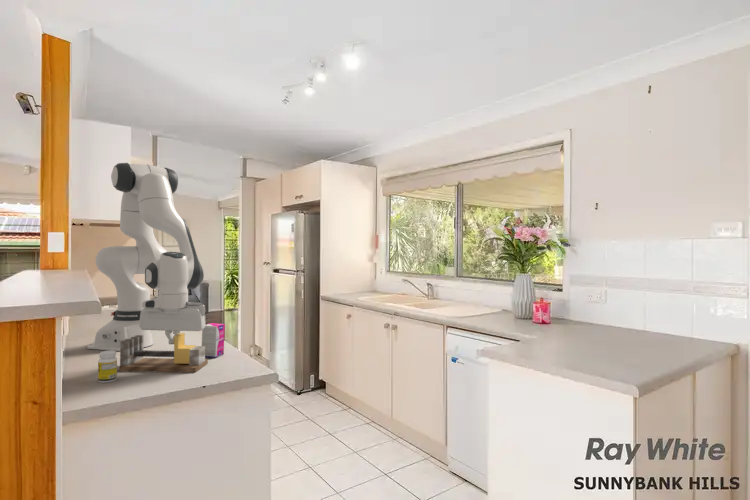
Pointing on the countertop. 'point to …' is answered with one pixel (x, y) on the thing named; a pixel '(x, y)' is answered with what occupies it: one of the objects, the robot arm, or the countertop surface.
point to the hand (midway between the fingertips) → (172, 344)
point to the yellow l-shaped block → (181, 349)
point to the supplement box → (213, 339)
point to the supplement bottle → (107, 367)
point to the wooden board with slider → (135, 362)
